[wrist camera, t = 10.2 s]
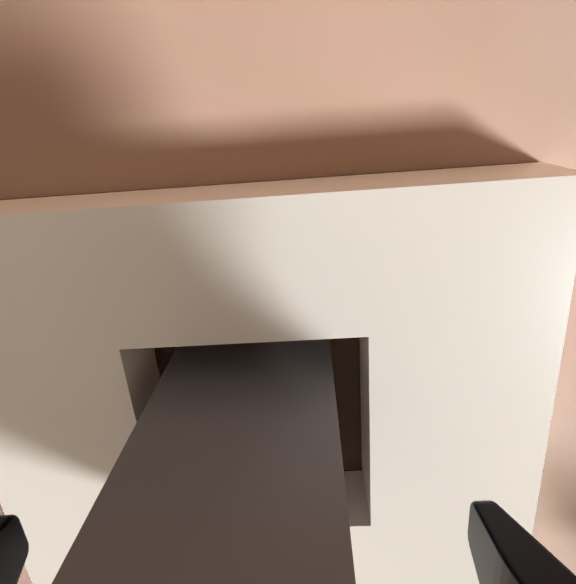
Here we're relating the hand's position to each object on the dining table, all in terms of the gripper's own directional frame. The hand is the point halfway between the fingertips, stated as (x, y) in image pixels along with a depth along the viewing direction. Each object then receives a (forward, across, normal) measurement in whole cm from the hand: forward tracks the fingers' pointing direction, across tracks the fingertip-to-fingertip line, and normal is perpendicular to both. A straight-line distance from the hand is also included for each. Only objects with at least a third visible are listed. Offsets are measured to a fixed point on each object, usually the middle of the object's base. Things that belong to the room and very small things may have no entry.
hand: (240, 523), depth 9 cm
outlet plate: (+4, 0, 0) cm, 4 cm away
